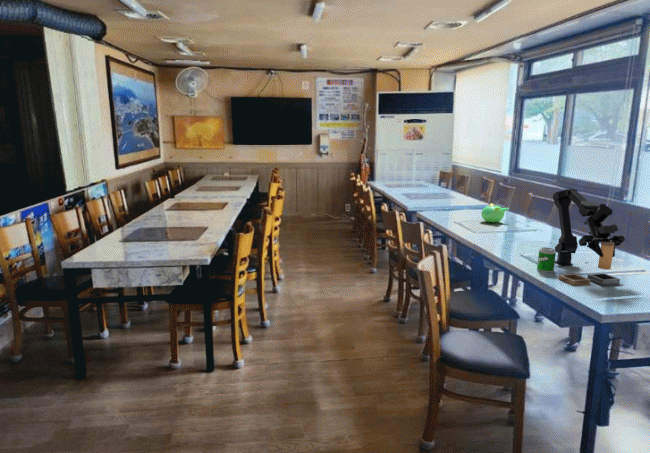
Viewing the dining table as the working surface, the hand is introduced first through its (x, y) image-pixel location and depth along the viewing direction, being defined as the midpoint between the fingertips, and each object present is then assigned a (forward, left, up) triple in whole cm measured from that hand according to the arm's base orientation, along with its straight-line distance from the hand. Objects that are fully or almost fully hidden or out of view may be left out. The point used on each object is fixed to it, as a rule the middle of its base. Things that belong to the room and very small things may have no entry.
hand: (607, 256), depth 202 cm
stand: (-4, -12, -13) cm, 19 cm away
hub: (-1, +1, -13) cm, 13 cm away
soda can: (-22, -13, -14) cm, 29 cm away
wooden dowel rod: (-1, 0, -6) cm, 6 cm away
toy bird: (-142, +35, -14) cm, 147 cm away
